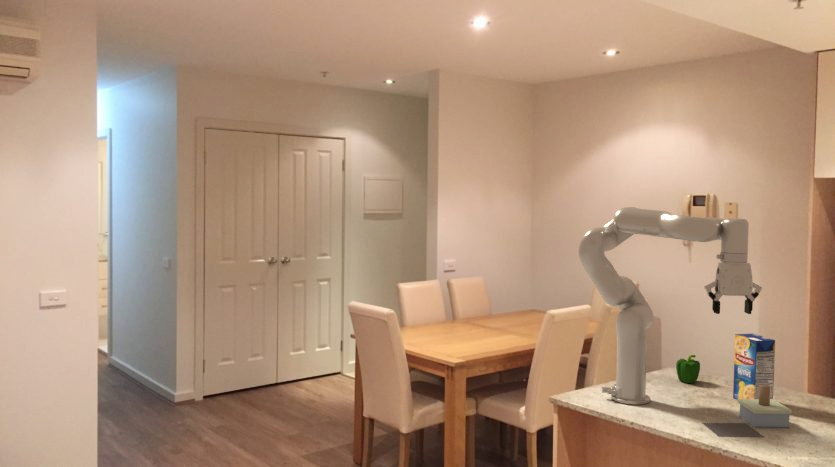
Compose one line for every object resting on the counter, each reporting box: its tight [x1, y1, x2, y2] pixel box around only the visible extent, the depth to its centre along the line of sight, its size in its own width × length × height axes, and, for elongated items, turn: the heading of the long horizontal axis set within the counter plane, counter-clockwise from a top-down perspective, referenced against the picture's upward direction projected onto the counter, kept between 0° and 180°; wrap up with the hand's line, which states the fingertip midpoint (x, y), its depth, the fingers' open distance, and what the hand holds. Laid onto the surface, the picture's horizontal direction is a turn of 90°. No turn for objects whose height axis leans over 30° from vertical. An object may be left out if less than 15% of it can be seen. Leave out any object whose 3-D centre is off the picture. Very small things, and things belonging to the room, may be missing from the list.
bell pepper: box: [675, 354, 701, 384], centre depth 258 cm, size 8×8×10 cm
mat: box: [702, 422, 765, 438], centre depth 204 cm, size 13×12×1 cm
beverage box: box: [732, 333, 776, 401], centre depth 232 cm, size 7×11×22 cm, turn 11°
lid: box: [737, 385, 793, 415], centre depth 211 cm, size 11×11×7 cm
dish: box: [739, 404, 790, 429], centre depth 211 cm, size 10×10×5 cm
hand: (732, 313), depth 217 cm, fingers open, 9 cm apart
